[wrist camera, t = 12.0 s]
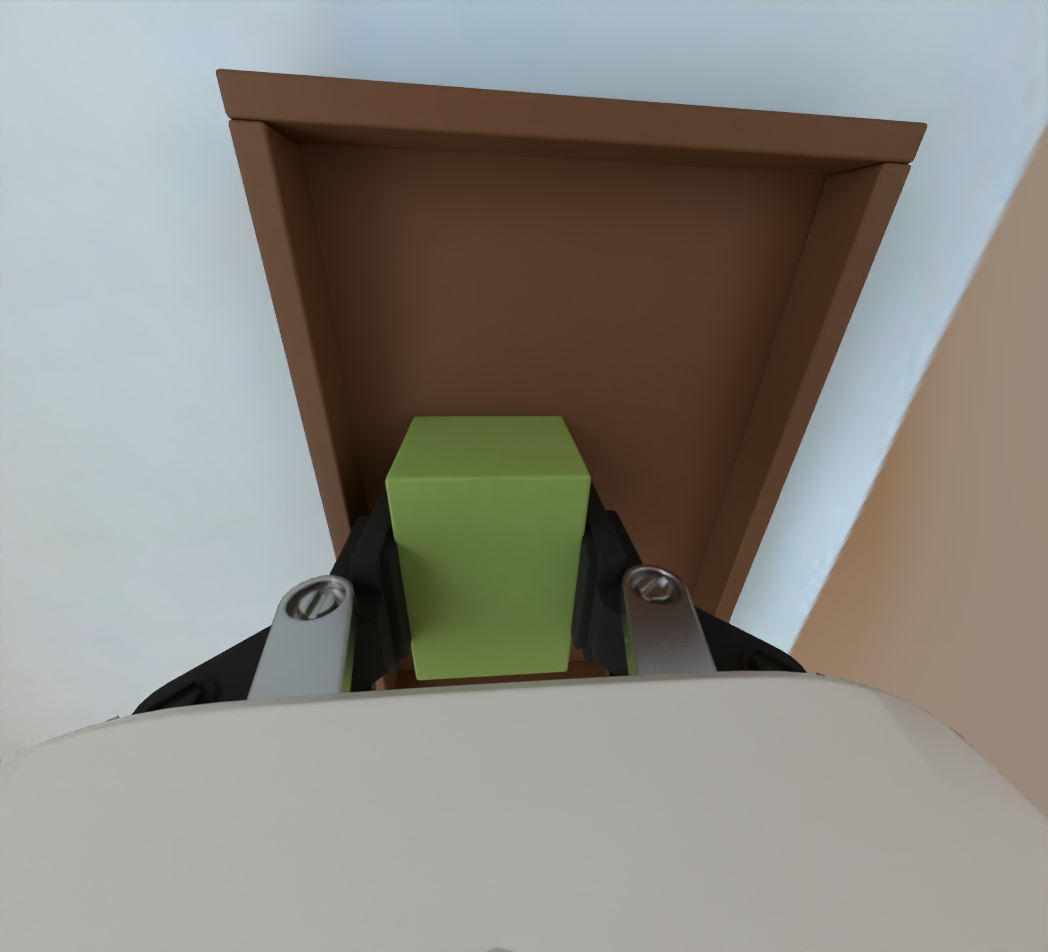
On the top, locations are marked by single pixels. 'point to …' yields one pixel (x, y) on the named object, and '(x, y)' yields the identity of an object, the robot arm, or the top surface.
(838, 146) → the tray
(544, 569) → the green block
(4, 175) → the top surface
